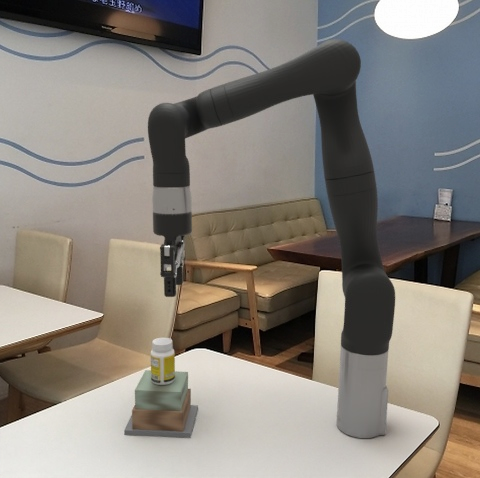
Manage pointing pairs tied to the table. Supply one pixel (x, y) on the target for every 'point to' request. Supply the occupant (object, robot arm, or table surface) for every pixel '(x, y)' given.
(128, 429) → the baseplate
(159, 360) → the supplement bottle
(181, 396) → the brick tower
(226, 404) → the table surface
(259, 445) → the table surface
